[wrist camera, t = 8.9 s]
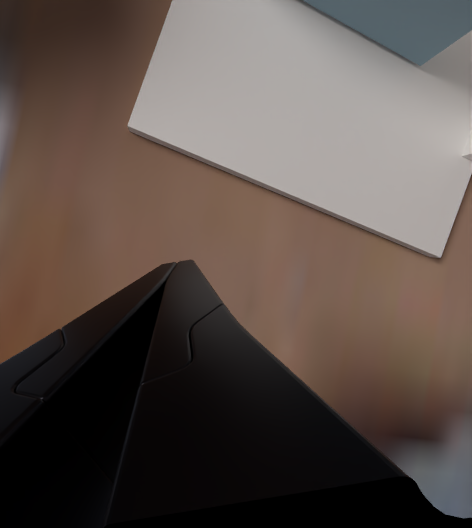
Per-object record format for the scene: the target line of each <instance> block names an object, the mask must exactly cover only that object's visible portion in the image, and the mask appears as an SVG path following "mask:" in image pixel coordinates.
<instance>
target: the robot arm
mask: <svg viewBox="0 0 472 528" xmlns="http://www.w3.org/2000/svg"><path fill="white" fill-rule="evenodd" d="M0 528H472V518H459V517H454V516H450V515H445V514H444V513H442V512H441V511H439V510H438V509H436V508H435V507H434V506H433V505H432V504H431V503H430V502H429V501H428V500H427V499H426V498H425V496H424V495H423V494H422V492H421V491H420V489H419V487H418V485H417V483H416V482H415V481H414V480H413V479H411V478H410V477H409V476H408V475H406V474H405V473H404V472H403V471H402V470H401V469H400V468H399V467H397V466H396V465H395V464H394V463H393V462H392V461H391V460H390V459H389V458H387V457H386V456H385V455H384V454H383V453H382V452H381V451H380V450H379V449H377V448H376V447H375V446H374V445H373V444H372V443H371V442H370V441H368V440H367V439H366V438H365V437H364V436H363V435H362V434H361V433H360V432H358V431H357V430H356V429H355V428H354V427H353V426H352V425H351V424H350V423H348V422H347V421H346V420H345V419H344V418H343V417H342V416H341V415H340V414H338V413H337V412H336V411H335V410H334V409H333V408H332V407H331V406H330V405H328V404H327V403H326V402H325V401H324V400H323V399H322V398H321V397H320V396H318V395H317V394H316V393H315V392H314V391H313V390H312V389H311V388H310V387H308V386H307V385H306V384H305V383H304V382H303V381H302V380H301V379H300V378H298V377H297V376H296V375H295V374H294V373H293V372H292V371H291V370H290V369H288V368H287V367H286V366H285V365H284V364H283V363H282V362H281V361H280V360H278V359H277V358H276V357H275V356H274V355H273V354H272V353H271V352H270V351H268V350H267V349H266V348H265V347H264V346H263V345H262V344H261V343H260V342H258V341H257V340H256V339H255V338H254V337H253V336H252V335H251V334H250V333H249V332H248V331H247V330H246V329H245V328H244V327H243V326H241V325H240V324H239V322H238V321H237V320H236V319H235V317H234V316H233V315H232V314H231V313H230V311H229V310H228V308H227V307H226V306H225V305H224V303H223V302H222V300H221V299H220V298H219V296H218V295H217V293H216V292H215V290H214V289H213V288H212V286H211V285H210V283H209V282H208V281H207V279H206V278H205V276H204V275H203V273H202V272H201V271H200V269H199V268H198V266H197V265H196V263H195V262H194V261H193V260H186V261H180V262H178V263H176V262H172V263H166V264H162V265H160V266H159V267H157V268H155V269H154V270H152V271H151V272H149V273H147V274H146V275H144V276H143V277H141V278H140V279H138V280H136V281H135V282H133V283H132V284H130V285H128V286H127V287H125V288H124V289H122V290H120V291H119V292H117V293H116V294H114V295H113V296H111V297H109V298H108V299H106V300H105V301H103V302H101V303H100V304H98V305H97V306H95V307H94V308H92V309H90V310H89V311H87V312H86V313H84V314H82V315H81V316H79V317H78V318H76V319H74V320H73V321H71V322H70V323H68V324H67V325H65V326H63V327H62V329H57V330H56V331H54V332H53V333H51V334H50V335H48V336H46V337H45V338H43V339H41V340H40V341H38V342H37V343H35V344H33V345H32V346H30V347H28V348H27V349H25V350H23V351H22V352H20V353H18V354H17V355H15V356H13V357H12V358H10V359H8V360H6V361H5V362H3V363H1V364H0Z"/></svg>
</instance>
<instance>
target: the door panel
mask: <svg viewBox="0 0 472 528" xmlns="http://www.w3.org/2000/svg"><path fill="white" fill-rule="evenodd" d="M303 1H305V2H306V3H308V4H310V5H312V6H314V7H315V8H317V9H319V10H321V11H323V12H324V13H326V14H328V15H330V16H332V17H333V18H335V19H337V20H339V21H341V22H342V23H344V24H346V25H348V26H349V27H351V28H353V29H355V30H357V31H358V32H360V33H362V34H364V35H366V36H367V37H369V38H371V39H373V40H375V41H376V42H378V43H380V44H382V45H384V46H385V47H387V48H389V49H391V50H393V51H394V52H396V53H398V54H400V55H402V56H403V57H405V58H407V59H409V60H410V61H412V62H414V63H416V64H418V65H419V66H421V65H423V64H424V63H426V62H427V61H429V60H430V59H431V58H433V57H434V56H436V55H437V54H439V53H440V52H441V51H443V50H444V49H446V48H447V47H449V46H450V45H451V44H453V43H454V42H456V41H457V40H459V39H460V38H461V37H463V36H464V35H466V34H467V33H469V32H470V31H471V30H472V0H303Z"/></svg>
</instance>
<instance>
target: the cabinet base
mask: <svg viewBox="0 0 472 528" xmlns="http://www.w3.org/2000/svg"><path fill="white" fill-rule="evenodd" d="M128 129H129V131H130V132H132V133H135V134H137V135H139V136H142V137H144V138H146V139H149V140H151V141H154V142H156V143H158V144H161V145H163V146H166V147H168V148H170V149H173V150H175V151H178V152H180V153H182V154H185V155H187V156H189V157H192V158H194V159H197V160H199V161H201V162H204V163H206V164H209V165H211V166H213V167H216V168H218V169H221V170H223V171H225V172H228V173H230V174H233V175H235V176H237V177H240V178H242V179H244V180H247V181H249V182H252V183H254V184H256V185H259V186H261V187H264V188H266V189H268V190H271V191H273V192H276V193H278V194H280V195H283V196H285V197H288V198H290V199H292V200H295V201H297V202H299V203H302V204H304V205H307V206H309V207H311V208H314V209H316V210H319V211H321V212H323V213H326V214H328V215H331V216H333V217H335V218H338V219H340V220H342V221H345V222H347V223H350V224H352V225H354V226H357V227H359V228H362V229H364V230H366V231H369V232H371V233H374V234H376V235H378V236H381V237H383V238H386V239H388V240H390V241H393V242H395V243H397V244H400V245H402V246H405V247H407V248H409V249H412V250H414V251H417V252H419V253H421V254H424V255H426V256H429V257H436V258H441V256H442V253H443V250H444V248H445V245H446V242H447V239H448V237H449V234H450V231H451V229H452V226H453V223H454V220H455V218H456V215H457V212H458V209H459V207H460V204H461V201H462V198H463V196H464V193H465V190H466V188H467V185H468V182H469V179H470V177H471V174H472V30H471V31H470V32H469V33H467V34H466V35H464V36H463V37H461V38H460V39H459V40H457V41H456V42H454V43H453V44H451V45H450V46H449V47H447V48H446V49H444V50H443V51H441V52H440V53H439V54H437V55H436V56H434V57H433V58H431V59H430V60H429V61H427V62H426V63H424V64H423V65H421V66H419V65H418V64H416V63H414V62H412V61H410V60H409V59H407V58H405V57H403V56H402V55H400V54H398V53H396V52H394V51H393V50H391V49H389V48H387V47H385V46H384V45H382V44H380V43H378V42H376V41H375V40H373V39H371V38H369V37H367V36H366V35H364V34H362V33H360V32H358V31H357V30H355V29H353V28H351V27H349V26H348V25H346V24H344V23H342V22H341V21H339V20H337V19H335V18H333V17H332V16H330V15H328V14H326V13H324V12H323V11H321V10H319V9H317V8H315V7H314V6H312V5H310V4H308V3H306V2H305V1H303V0H172V3H171V6H170V9H169V11H168V14H167V17H166V20H165V23H164V25H163V28H162V31H161V34H160V37H159V39H158V42H157V45H156V48H155V50H154V53H153V56H152V59H151V62H150V64H149V67H148V70H147V73H146V75H145V78H144V81H143V84H142V87H141V89H140V92H139V95H138V98H137V101H136V103H135V106H134V109H133V112H132V114H131V117H130V120H129V123H128Z"/></svg>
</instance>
